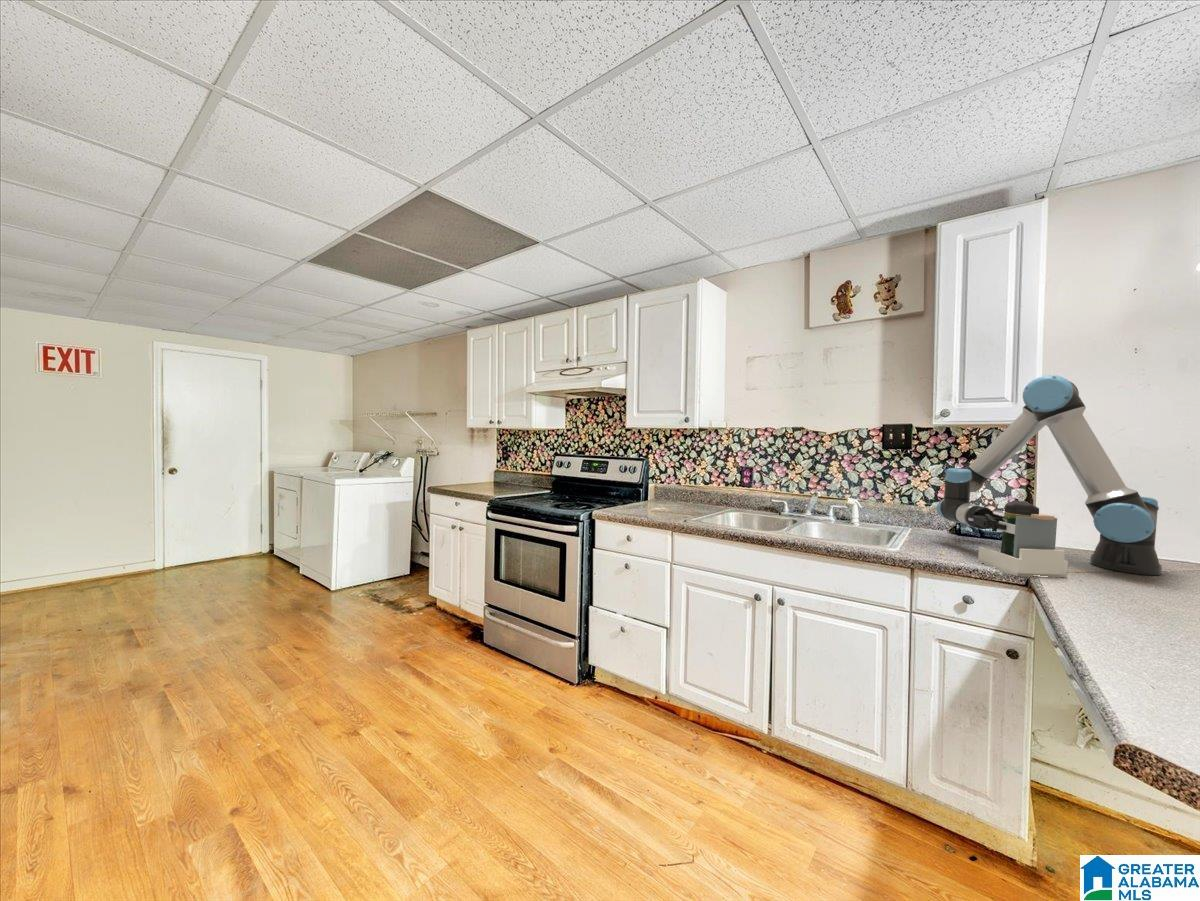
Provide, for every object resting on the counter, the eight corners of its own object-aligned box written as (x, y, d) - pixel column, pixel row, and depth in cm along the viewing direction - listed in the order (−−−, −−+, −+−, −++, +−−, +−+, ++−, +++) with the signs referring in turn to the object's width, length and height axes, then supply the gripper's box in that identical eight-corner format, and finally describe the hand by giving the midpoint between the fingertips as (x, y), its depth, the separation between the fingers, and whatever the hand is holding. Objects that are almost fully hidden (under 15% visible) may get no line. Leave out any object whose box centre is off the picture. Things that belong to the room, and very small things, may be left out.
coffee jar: (1037, 567, 140) (1042, 505, 139) (1002, 561, 144) (1007, 501, 143) (1031, 560, 148) (1036, 501, 147) (998, 555, 152) (1003, 498, 151)
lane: (1022, 563, 152) (1024, 538, 152) (1066, 578, 137) (1068, 550, 137) (978, 561, 153) (979, 537, 152) (1017, 576, 138) (1019, 549, 137)
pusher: (1051, 557, 141) (1054, 514, 140) (1063, 561, 137) (1067, 516, 136) (1013, 556, 141) (1016, 513, 140) (1024, 559, 137) (1027, 515, 136)
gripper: (1006, 528, 163) (1069, 544, 141) (943, 525, 164) (995, 541, 141) (1008, 506, 163) (1071, 519, 140) (944, 504, 163) (997, 516, 141)
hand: (1033, 530), depth 141 cm, fingers closed on coffee jar, 8 cm apart
